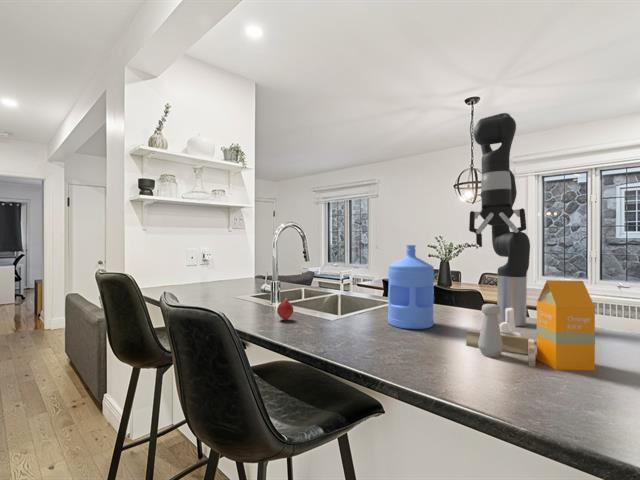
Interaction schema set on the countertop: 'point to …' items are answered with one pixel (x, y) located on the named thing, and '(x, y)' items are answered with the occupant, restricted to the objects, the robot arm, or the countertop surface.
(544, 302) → the orange juice
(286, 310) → the onion
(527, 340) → the beige l-shaped block
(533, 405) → the countertop surface
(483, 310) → the salt shaker
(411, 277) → the water jug
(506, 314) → the hook
